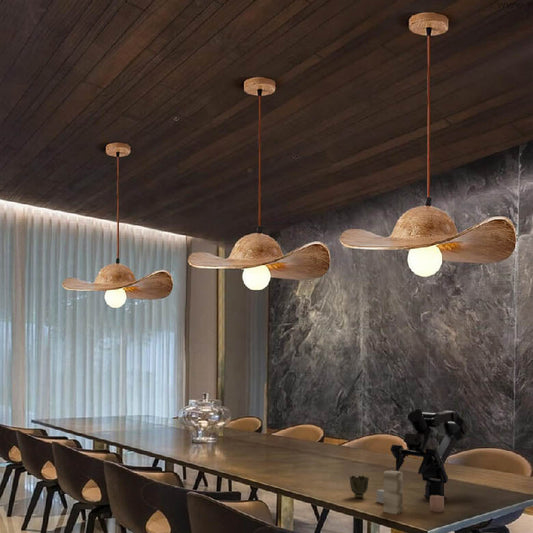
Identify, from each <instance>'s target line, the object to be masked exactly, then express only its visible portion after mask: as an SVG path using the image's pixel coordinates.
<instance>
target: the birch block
mask: <svg viewBox="0 0 533 533" xmlns="http://www.w3.org/2000/svg"><path fill="white" fill-rule="evenodd" d="M403 476H404V475H403V471H399V470H398V471H397V470H386V471H383V476H382V477H383V484H382V485H383V504H382V505H383V513H386V512H387V513H388V514H392V515H398V514H400V512H401V513H403V512H404V511H403V510H404V508H403V506H404V505H403V503H404V502H403V499H404V498H403V497H404V496H403V478H404V477H403ZM397 513H398V514H397Z"/></svg>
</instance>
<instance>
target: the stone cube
mask: <svg viewBox="0 0 533 533" xmlns="http://www.w3.org/2000/svg"><path fill="white" fill-rule="evenodd" d="M379 502H380V504H382V503H383V489H376V503H379Z"/></svg>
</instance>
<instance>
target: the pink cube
mask: <svg viewBox="0 0 533 533" xmlns="http://www.w3.org/2000/svg"><path fill="white" fill-rule="evenodd" d="M429 511H430V512H435V513H443V512H445V498H444V497H443V496H440V495H431V496H430V498H429Z"/></svg>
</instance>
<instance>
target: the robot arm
mask: <svg viewBox="0 0 533 533" xmlns="http://www.w3.org/2000/svg"><path fill="white" fill-rule="evenodd" d="M407 420H408V422H409V425H410V426H411V429H412V430H413V431H415V433H407V432H405V433H404V437H403V442H404V443H405V444H406V448H407V449H406V448H404V447H403V445H401V444H391V446H390V452H391V454H392V456H393V457H394V459H395V471H398V472H399V471H400V469H401V467H402V466H403V463H404V462H405V459H406V456H412V457H416V458H422V461H421V463H420V466H419V468H418V472H417V473H418V475H421V477H422V481H423V482H424V481H425V482H426V484H425V485H424V486H425V492H424V493H425V494H423V496H424V497H426V498H429V499H430V496H431V495H440V496H443V497H444V499H447V497H446V495H445V484H447V483H448V480H449V479H448V478H449V476H448V474H447V472H446V469H445V463H446V461H447V460H448V457H449V456H450V454H451V452H452V451H453V448H454V447H455V445H456V443H457V442H459V441H461V440H463V439H464V438H465V437H466V435H467V433H468V426H467V424H466V422H465V420H464V419H462V418H461V417H460V416H459V415H458V413H457V411H454V410H444V411H440V412H425V411H423V412H422V409H421V408H415V410H413V411H411V412H410V413H409V414H407ZM441 424H442V426H443V428H444V433H445V435H444V437H443V439H442V441H441V442H440V445H439V446H438V448H437V449H436V448H429V445H428V444H429V441H430V439H432V438H434V434H433V431H432V429H438V428H439V427H440V426H441ZM431 428H432V429H431Z"/></svg>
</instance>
